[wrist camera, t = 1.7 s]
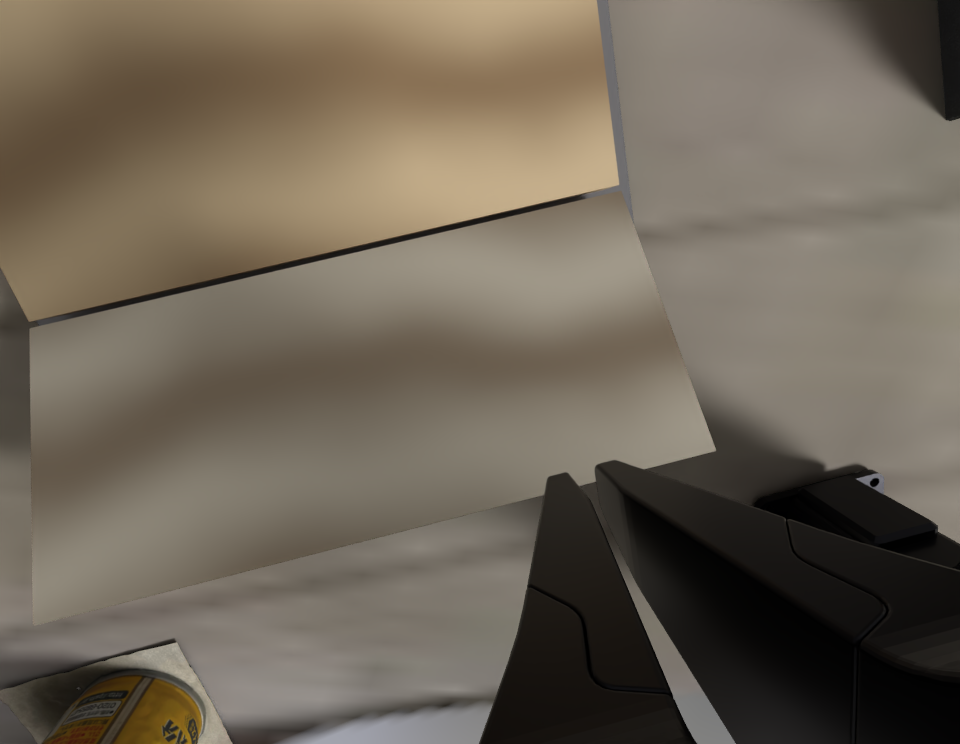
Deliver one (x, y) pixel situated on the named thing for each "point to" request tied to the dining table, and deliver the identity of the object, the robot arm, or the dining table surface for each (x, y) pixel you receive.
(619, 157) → the underlay mat
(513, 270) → the loose plank
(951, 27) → the ammunition clip
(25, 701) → the condiment
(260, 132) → the plank
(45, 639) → the dining table surface
